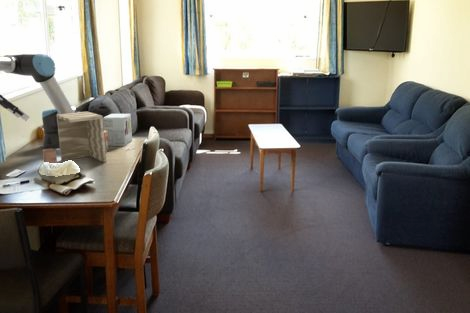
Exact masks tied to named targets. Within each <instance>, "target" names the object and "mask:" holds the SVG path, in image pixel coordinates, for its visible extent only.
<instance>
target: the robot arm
mask: <svg viewBox="0 0 470 313" xmlns="http://www.w3.org/2000/svg"><path fill="white" fill-rule="evenodd" d="M55 66H56V63H55V62H54V59H53V58H52V57H51V56H49V55H48V54H42V53H37V54H36V53H35V54H30V53H29V54H25V53H24V54H12V55H11V54H10V55H9V54H7V55H4V56H1V55H0V72H1V71H2V72H4V73H6V74H14V75H19V76H30V77H32V78H33V80H34V81H35V83H37V84H40V86H41V87H42V89H43V91H44V92H45V94H46V96H47V97H48V99H49V101H50V102H51V104H52V105H53V107H54V108H52V109H46V110H43V111H42V113H41V116H42V117H41V119H42V127H43V132H44V133H43V134H44V135H43V139H42V143H41V145H42V148H44V149H51V148H53V149H57V148H58V149H60V143H59V134H58V124H57V115H59V114H68V113H78V112H79V111H78V110H77V108H76V107H75V106H74V105H72V104H71V103H70V102H69V100H68V98H67V96H66V95H65V93H64V90H62V88H61V86H60V84H59V82H58V80H57V79H56V78H55V74H56V72H55V71H56V67H55ZM0 106H1V107H2V108H3V109H6V110H7V111H8V112H10V113H11V114H12V115H13V116H15V117H16V118H21V119H22V120H24V121H25V122H27V121H28V120H29V119H30V116H29V115H28V114H26V113H25V112H24V111H22V109H20V108H19V107H18V106H16V105H15V104H13V103H12V102H10V101H9V100H8V99H7V98H6V97H4V95H2V94H0Z"/></svg>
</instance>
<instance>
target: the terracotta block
mask: <svg viewBox="0 0 470 313" xmlns="http://www.w3.org/2000/svg"><path fill="white" fill-rule="evenodd" d="M42 157H43V163H44V162H49V163H57V164H58V158H57V150H56V148H44V149H42Z"/></svg>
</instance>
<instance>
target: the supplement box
mask: <svg viewBox="0 0 470 313" xmlns="http://www.w3.org/2000/svg"><path fill="white" fill-rule="evenodd" d="M131 115H132V114H131V113H110V114H108V115H105V116H104V117H103V128H104V130H107V131H108V145H109V146H113V147H115V146H117V147H122V146H123V147H125V146H126V145H128V144H130V143H131V142H132V141H133V134H132V133H133V131H132V116H131Z"/></svg>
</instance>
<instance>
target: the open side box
mask: <svg viewBox="0 0 470 313" xmlns="http://www.w3.org/2000/svg"><path fill="white" fill-rule="evenodd" d="M77 112H78V113H68V114H59V115H57V124H58V134H59V143H60V147H59V151H60V152H59V153H60V160H61V161H68V160H67V159H69V160H75V159H79V157H81V158H86V157H85V156H87V157H91V158H93V157H94V159H95V160H97V161H100V162H102V163H107V156H106V155H107V154H106V153H107V152H105V140H104V122H103V118H104V117H103V115H101V114H98V113H95V112H90V111H77ZM74 158H75V159H74Z"/></svg>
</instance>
